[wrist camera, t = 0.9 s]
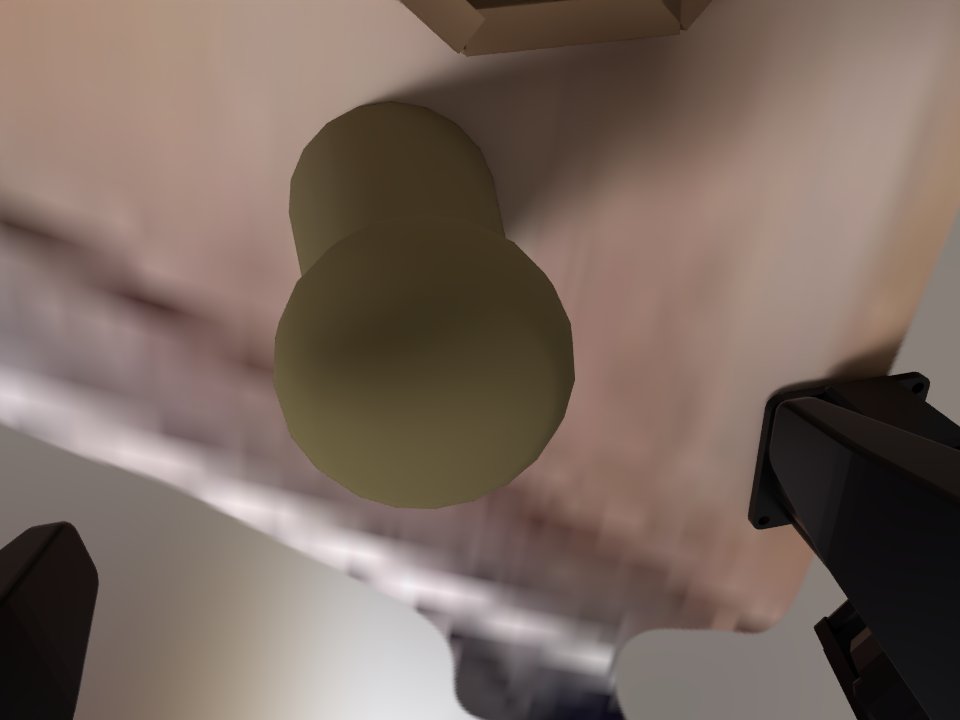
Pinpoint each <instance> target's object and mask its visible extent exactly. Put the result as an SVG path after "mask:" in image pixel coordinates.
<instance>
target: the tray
mask: <svg viewBox="0 0 960 720" xmlns="http://www.w3.org/2000/svg"><path fill="white" fill-rule="evenodd" d="M397 1H399V2H400V3H402V4H404V5H405V6H406V7H407V8H408V9H409V10H410V11H411V12H413V13H414V14H415V15H416V16H417V17H418V18H419V19H420V20H421V21H422V22H423V23H425V24H426V25H427V26H428V27H429V28H430V29H431V30H432V31H433V32H434V33H436V34H437V35H438V36H439V37H440V38H441V39H442V40H443V41H444V42H445V43H447V44H448V45H449V46H450V47H451V48H452V49H453V50H454V51H456V52H457V53H460V52H461V53H462V54H464V55H465V56H476V55H486V54H495V53H505V52H515V51H524V50H534V49H543V48H553V47H563V46H572V45H582V44H591V43H601V42H611V41H620V40H630V39H639V38H649V37H659V36H668V35H678V34H679V33H680V29H681V30H687V29H688V28H689V27H690V26H691V24H692V23H693V22H694V21H695V20H696V19H697V17H698V16H699V15H700V14H701V13H702V12H703V10H704V9H705V8H706V7H707V6H708V4H709V3H710V2H711V1H712V0H397Z"/></svg>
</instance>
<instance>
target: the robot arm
mask: <svg viewBox="0 0 960 720" xmlns="http://www.w3.org/2000/svg"><path fill="white" fill-rule="evenodd" d="M929 386H930V381H929V379H928V378H926V377H925V376H923V375H922V374H920V373H919V372H910V373H904V374H898V375H892V376H883V377H877V378H871V379H865V380H859V381H853V382H847V383H841V384H835V385H831V386H826V387H820V388H814V389H808V390H802V391H796V392H790V393H784V394H779V395H776V396H774V397H772V398H771V399H770V400H769V401H768V402H767V404H766V407H765V412H764V418H763V425H762V431H761V437H760V443H759V450H758V456H757V462H756V468H755V475H754V481H753V487H752V494H751V500H750V506H749V512H748V520H749V521H750V522H751V524H752V525H753V526H754V528H756V529H758V530H759V529H767V528H773V527H778V526H783V525H788V524H792V525H793V527H794V528H795V529H796V530H797V532H798V533H799V534H800V535H801V537H802V538H803V539H804V540H805V541H806V543H807V544H808V545H809V546H810V548H811V549H812V550H813V551H814V553H815V554H816V555H817V556H818V557H819V559H820V560H821V561H822V562H823V564H824V565H825V566H826V567H827V568H828V570H829V571H830V572H831V574H832V576H833V577H834V579H835V580H836V582H837V583H838V584H839V586H840V587H841V589H842V590H843V592H844V593H845V595H846V596H847V598H848V599H847V600H846V601H845V602H844V603H843V604H842V605H841V606H840V607H839V608H838V609H837V610H836V611H834V612H833V613H832V614H831V615H830V616H829V617H824V618H822V619H821V620H820V621H819V622H818V623H817V624H816V625H815V626H814V629H815V632H816V634H817V636H818V638H819V640H820V642H821V644H822V646H823V648H824V649H823V650H824V652H825V655H826V657H827V659H828V661H829V663H830V665H831V667H832V669H833V671H834V673H835V675H836V677H837V679H838V681H839V683H840V685H841V687H842V689H843V692H844V693H845V695H846V697H847V700H848V702H849V704H850V706H851V708H852V710H853V712H854V714H855V716H856V718H857V720H960V427H959V426H958V425H957V424H955V423H954V422H953V421H951V420H950V419H949V418H947V417H946V416H945V415H943V414H942V413H940V412H939V411H938V410H936V409H935V408H934V407H932V406H931V405H930V404H928V403H927V402H925V400H926V397H927V393H928V390H929ZM98 586H99V580H98V573H97V570H96V567H95V565H94V563H93V561H92V559H91V557H90V555H89V553H88V551H87V549H86V547H85V545H84V543H83V541H82V539H81V537H80V535H79V533H78V531H77V530H76V528H75V527H74V526H73V525H72V524H71V523H69V522H65V521H61V522H55V523H49V524H44V525H38V526H33V527H31V528H29V529H27V530H26V531H24V532H23V533H22V534H20V535H19V536H18V537H17V538H15V539H14V540H13V541H11V542H10V543H9V544H7V545H6V546H5V547H3V548H2V549H1V550H0V720H73V717H74V713H75V709H76V704H77V700H78V695H79V691H80V686H81V680H82V675H83V669H84V664H85V658H86V653H87V648H88V642H89V637H90V631H91V626H92V620H93V615H94V609H95V604H96V599H97V593H98Z"/></svg>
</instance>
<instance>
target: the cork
mask: <svg viewBox="0 0 960 720" xmlns="http://www.w3.org/2000/svg"><path fill="white" fill-rule="evenodd" d="M289 216H290V221H291V226H292V231H293V235H294V240H295V245H296V250H297V255H298V260H299V265H300V270H301V275H302V277H301V278H300V279H299V280H298V281H297V283H296V285H295V288H294V290H293V292H292V294H291V296H290V299H289V301H288V303H287V305H286V308H285V310H284V312H283V314H282V317H281V319H280V321H279V324H278V328H277V333H276V337H275V351H274V370H273V383H274V386H275V390H276V393H277V396H278V399H279V402H280V405H281V408H282V411H283V414H284V417H285V420H286V423H287V426H288V429H289V432H290V435H291V437H292V439H293V440H294V441H295V442H296V444H297V445H298V446H299V447H300V449H301V450H302V451H303V452H304V453H305V455H306V456H307V457H308V458H309V460H310V461H311V462H312V463H313V465H314V466H315V467H316V468H317V469H318V470H320V471H321V472H322V473H324V474H325V475H327V476H328V477H330V478H331V479H333V480H334V481H336V482H337V483H339V484H340V485H342V486H344V487H345V488H347V489H348V490H350V491H351V492H353V493H354V494H356V495H358V496H359V497H362V498H365V499H369V500H372V501H375V502H379V503H382V504H386V505H389V506H392V507H396V508H423V509H437V508H442V507H446V506H451V505H456V504H460V503H465V502H470V501H474V500H476V499H478V498H480V497H482V496H484V495H486V494H488V493H490V492H493V491H495V490H497V489H499V488H501V487H503V486H505V485H507V484H509V483H510V482H511V481H512V480H513V479H515V478H516V477H517V476H518V475H519V474H520V473H522V472H523V471H524V470H525V469H526V468H528V467H529V466H530V465H531V464H532V463H533V462H535V461H536V460H537V459H538V457H539V456H540V454H541V453H542V451H543V450H544V448H545V447H546V445H547V444H548V442H549V441H550V439H551V438H552V436H553V435H554V433H555V432H556V430H557V429H558V427H559V425H560V424H561V422H562V420H563V418H564V416H565V413H566V409H567V406H568V402H569V399H570V395H571V392H572V388H573V385H574V381H575V372H574V357H573V341H572V332H571V323H570V321H569V319H568V317H567V314H566V312H565V310H564V308H563V306H562V303H561V301H560V299H559V297H558V295H557V292H556V290H555V288H554V286H553V284H552V283H551V282H550V280H549V279H548V277H547V276H546V275H545V273H544V272H543V271H542V270H541V269H540V268H539V267H538V266H537V265H536V264H535V263H534V262H533V261H532V260H531V259H530V258H529V257H528V256H527V255H526V254H525V253H524V252H523V251H522V250H521V249H520V248H519V247H518V246H517V245H516V244H515V243H514V242H512V241H510V240H508V239H506V238H505V234H504V229H503V224H502V219H501V215H500V210H499V205H498V200H497V196H496V191H495V186H494V181H493V177H492V175H491V173H490V171H489V168H488V166H487V164H486V162H485V160H484V158H483V155H482V153H481V151H480V149H479V147H478V146H477V145H476V144H475V143H474V142H473V141H472V140H471V139H470V138H469V137H468V136H467V135H466V134H465V133H464V131H463V130H462V129H461V128H460V127H459V126H458V125H457V124H456V123H454V122H452V121H450V120H448V119H447V118H445V117H443V116H441V115H439V114H437V113H435V112H434V111H432V110H430V109H428V108H426V107H421V106H415V105H409V104H403V103H397V102H386V103H380V104H374V105H367V106H361V107H357V108H355V109H353V110H351V111H349V112H347V113H345V114H344V115H342V116H340V117H338V118H336V119H334V120H333V121H331V122H329V123H327V124H326V125H325V126H324V127H323V128H322V129H321V130H320V132H319V133H318V134H317V135H316V136H315V137H314V138H313V139H312V140H311V142H310V143H309V144H308V145H307V146H306V147H305V148H304V150H303V152H302V154H301V157H300V159H299V162H298V164H297V166H296V169H295V171H294V174H293V176H292V178H291V185H290V203H289Z"/></svg>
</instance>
